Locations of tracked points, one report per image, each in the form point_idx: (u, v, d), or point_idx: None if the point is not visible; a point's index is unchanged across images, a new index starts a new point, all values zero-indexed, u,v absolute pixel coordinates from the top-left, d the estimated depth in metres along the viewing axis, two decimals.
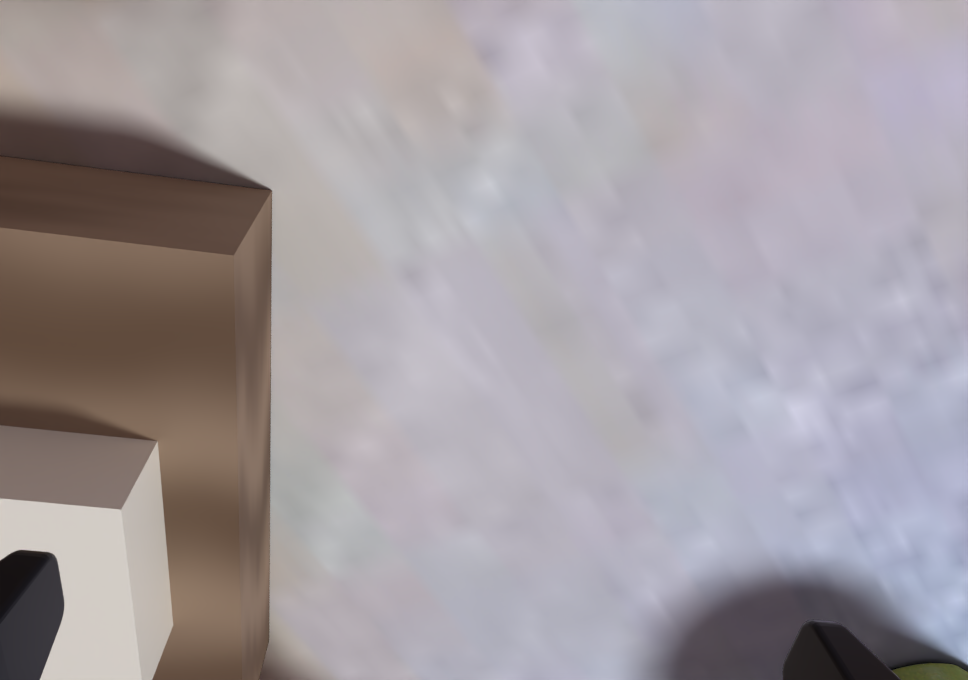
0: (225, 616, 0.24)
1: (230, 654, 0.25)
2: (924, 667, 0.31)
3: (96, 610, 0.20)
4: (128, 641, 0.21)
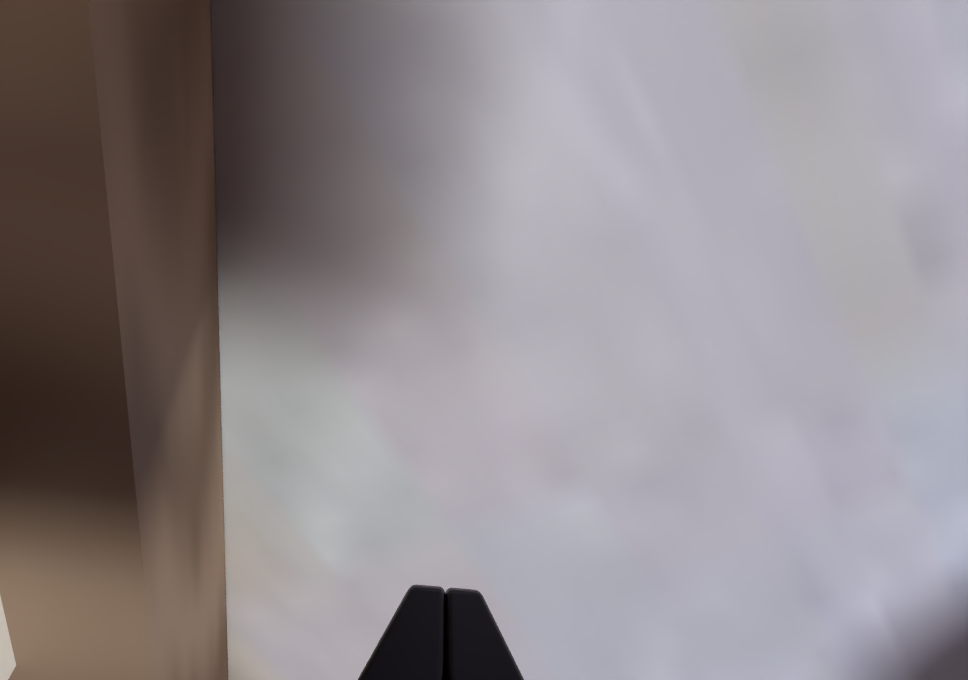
0: (120, 649, 0.12)
1: None
2: None
3: None
4: None
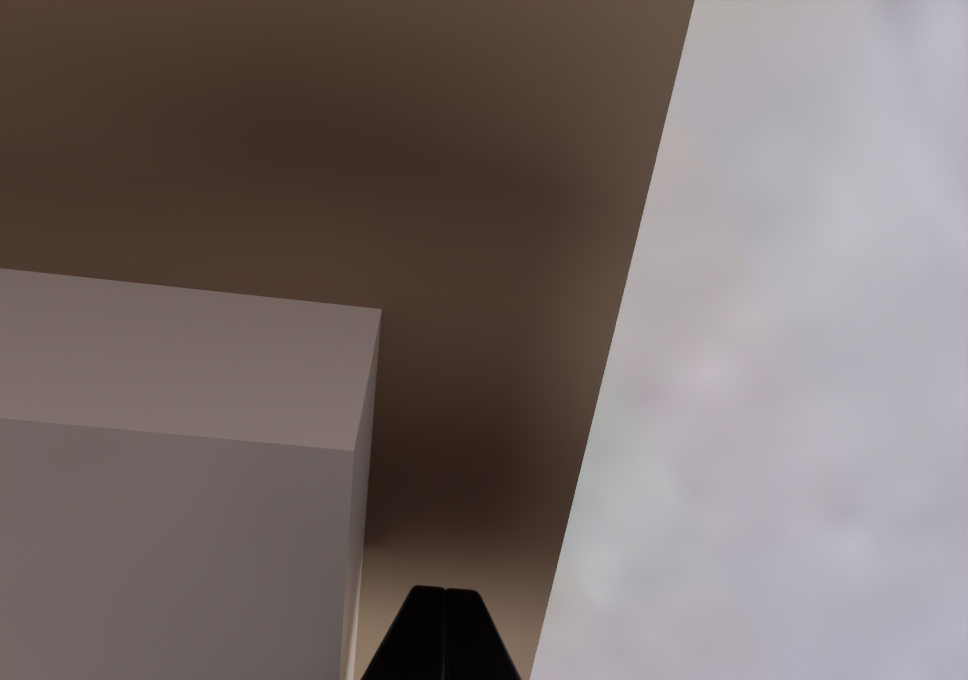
0: None
1: None
2: None
3: None
4: None
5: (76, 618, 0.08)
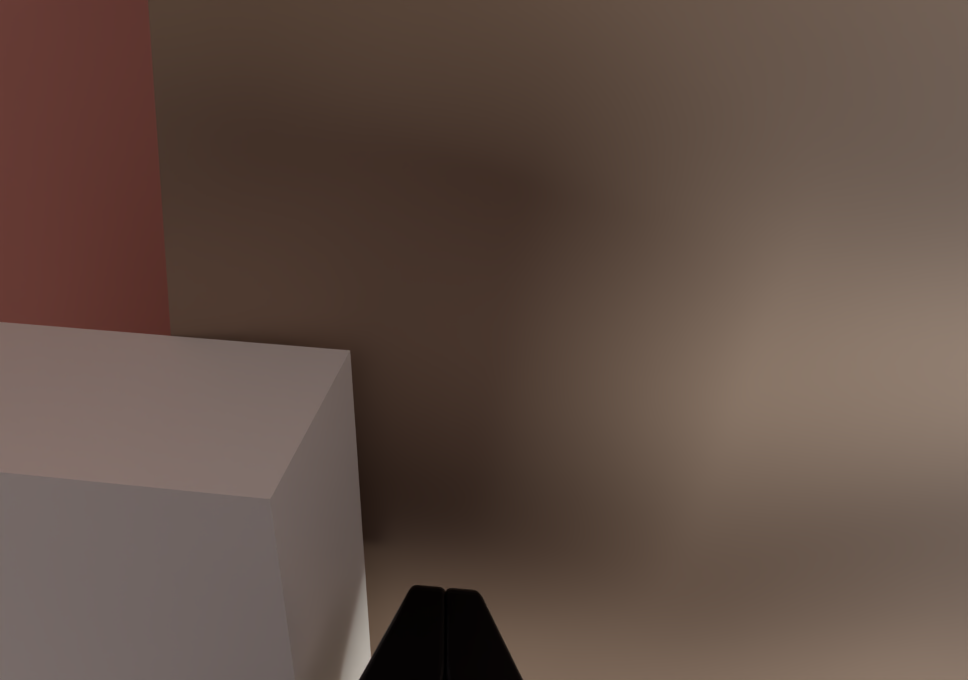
0: None
1: None
2: None
3: None
4: None
5: (52, 655, 0.08)
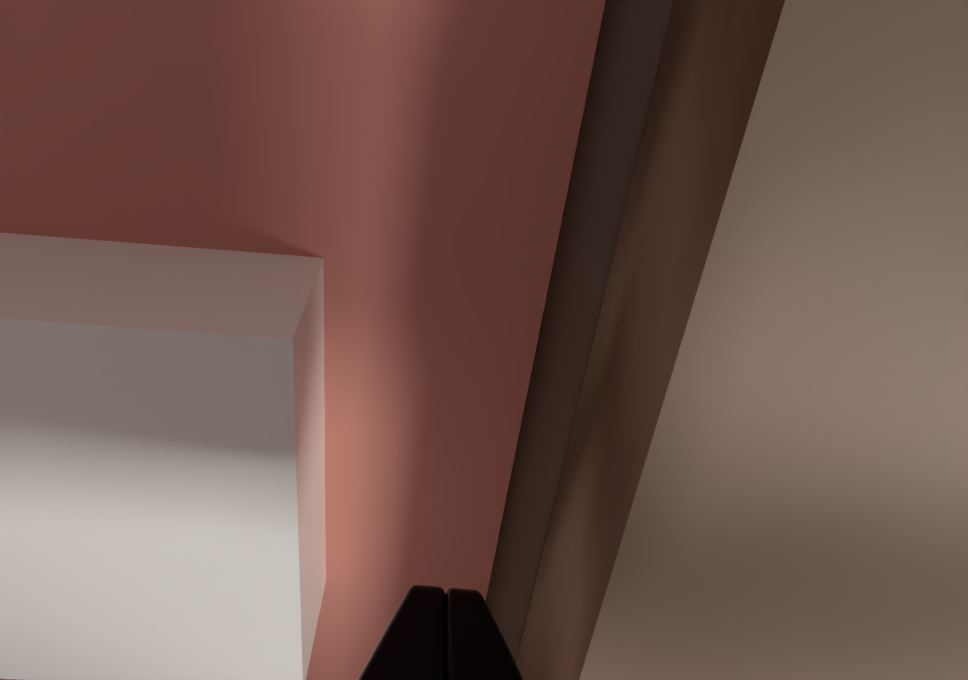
0: None
1: None
2: None
3: None
4: None
5: None
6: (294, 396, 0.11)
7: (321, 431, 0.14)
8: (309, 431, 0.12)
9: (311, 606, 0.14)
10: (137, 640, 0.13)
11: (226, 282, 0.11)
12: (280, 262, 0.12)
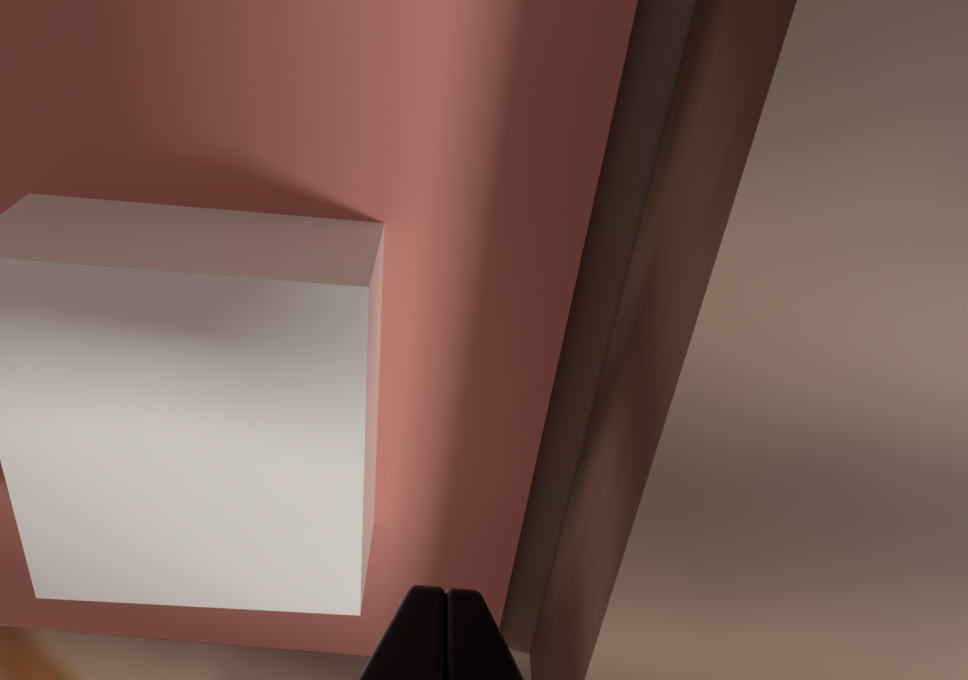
0: None
1: None
2: None
3: None
4: None
5: None
6: (368, 338, 0.12)
7: (377, 381, 0.15)
8: (372, 376, 0.14)
9: (366, 539, 0.16)
10: (215, 565, 0.15)
11: (304, 241, 0.13)
12: (347, 226, 0.14)
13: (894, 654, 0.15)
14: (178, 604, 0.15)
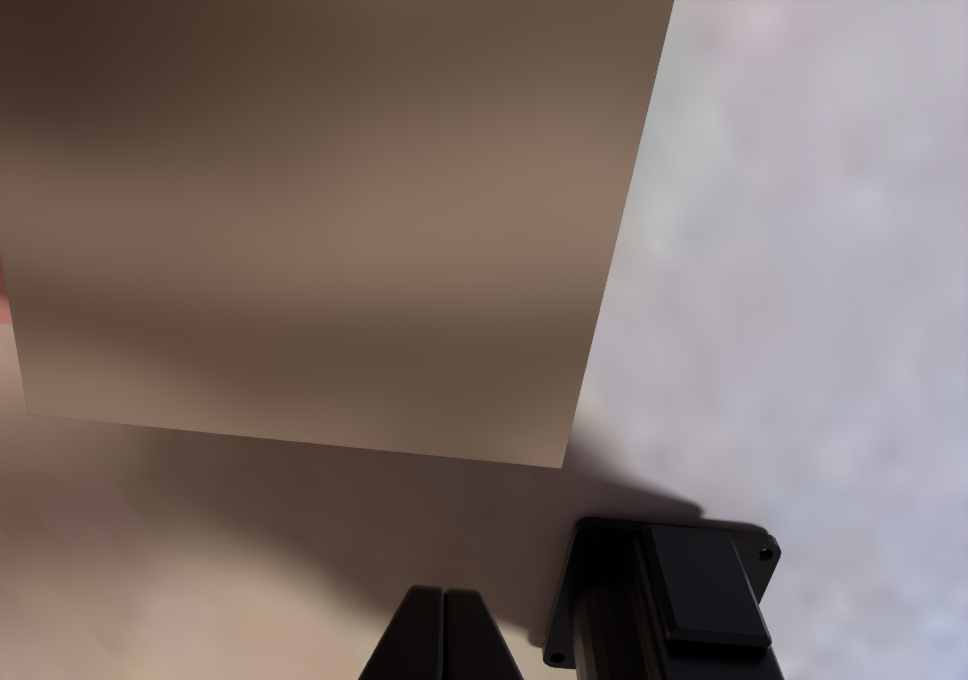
0: (596, 226, 0.16)
1: (584, 302, 0.17)
2: None
3: None
4: None
5: None
6: None
7: None
8: None
9: None
10: None
11: None
12: None
13: (278, 199, 0.15)
14: None
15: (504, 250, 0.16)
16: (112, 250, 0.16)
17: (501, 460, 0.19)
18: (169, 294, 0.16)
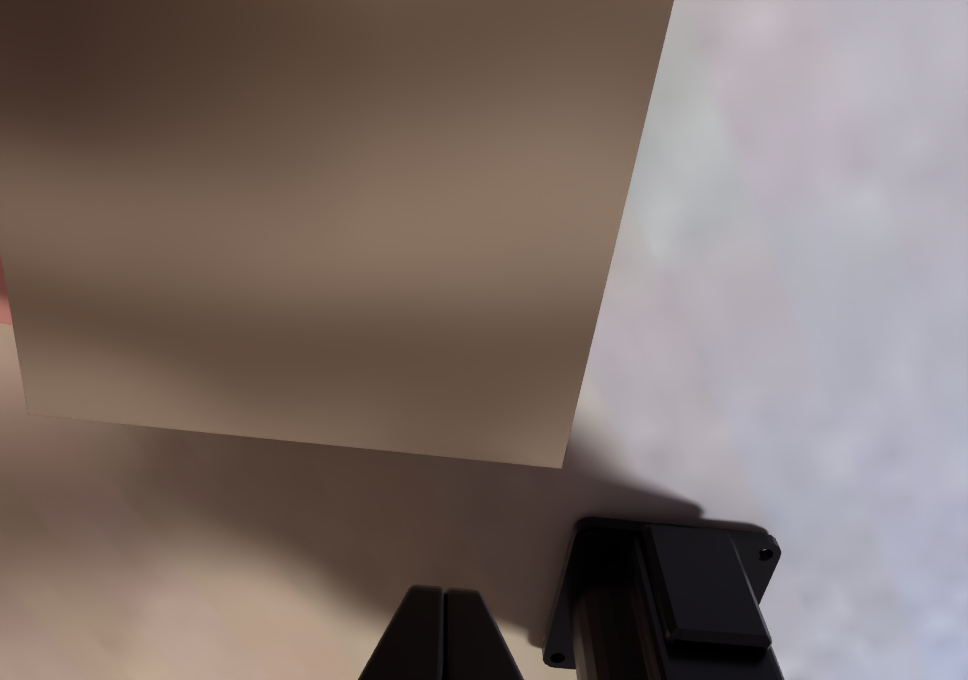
0: (596, 226, 0.16)
1: (584, 302, 0.17)
2: None
3: None
4: None
5: None
6: None
7: None
8: None
9: None
10: None
11: None
12: None
13: (278, 199, 0.15)
14: None
15: (504, 250, 0.16)
16: (112, 250, 0.16)
17: (501, 460, 0.19)
18: (169, 294, 0.16)
